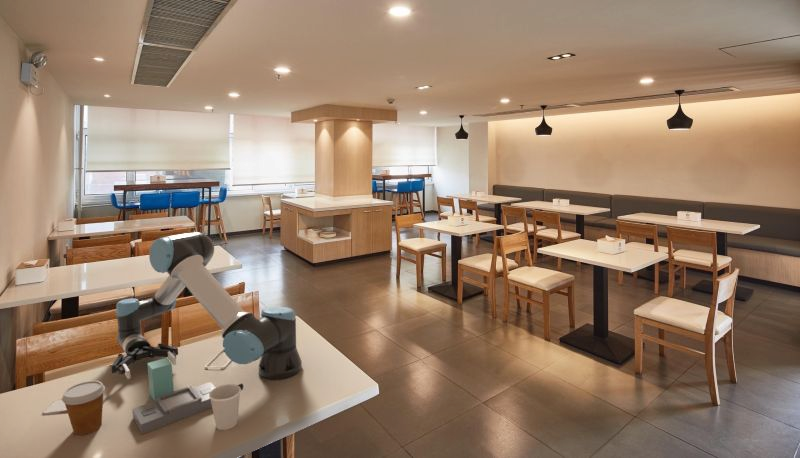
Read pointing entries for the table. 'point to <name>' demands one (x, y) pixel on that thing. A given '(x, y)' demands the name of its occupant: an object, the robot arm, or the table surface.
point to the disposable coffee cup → (84, 406)
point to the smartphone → (62, 406)
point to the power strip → (173, 407)
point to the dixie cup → (225, 405)
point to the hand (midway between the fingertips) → (152, 367)
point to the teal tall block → (160, 378)
